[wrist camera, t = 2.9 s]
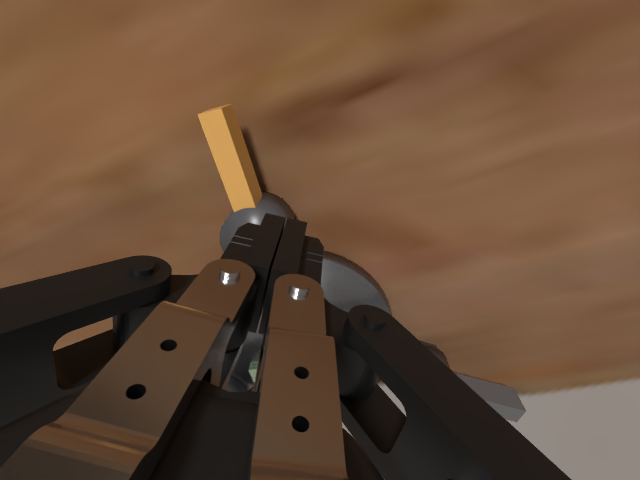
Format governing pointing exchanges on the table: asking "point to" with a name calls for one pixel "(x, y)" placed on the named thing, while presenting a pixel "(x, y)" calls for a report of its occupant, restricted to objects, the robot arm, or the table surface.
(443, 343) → the table surface
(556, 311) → the table surface
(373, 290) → the base
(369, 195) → the table surface
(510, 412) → the grey bar with ball
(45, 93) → the table surface
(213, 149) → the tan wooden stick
